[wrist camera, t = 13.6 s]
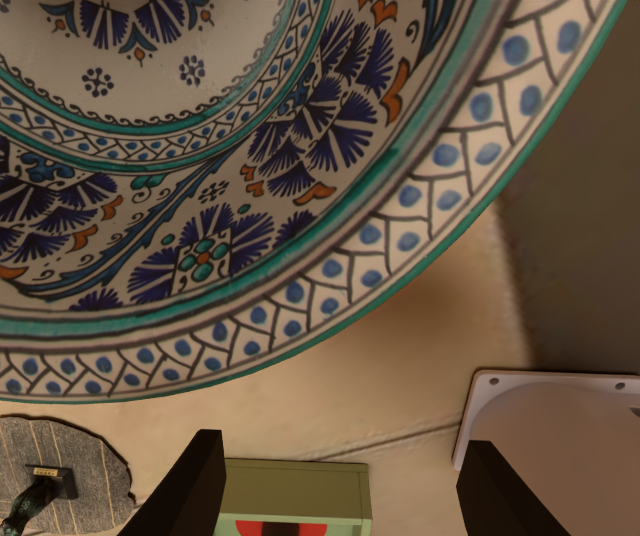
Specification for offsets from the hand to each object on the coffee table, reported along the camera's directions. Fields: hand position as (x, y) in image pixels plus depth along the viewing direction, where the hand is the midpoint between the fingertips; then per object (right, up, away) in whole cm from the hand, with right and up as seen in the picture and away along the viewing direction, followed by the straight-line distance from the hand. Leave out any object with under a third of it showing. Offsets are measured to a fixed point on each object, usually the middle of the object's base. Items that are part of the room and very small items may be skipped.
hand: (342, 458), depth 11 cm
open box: (-3, -12, +16) cm, 20 cm away
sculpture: (-20, -9, +15) cm, 26 cm away
